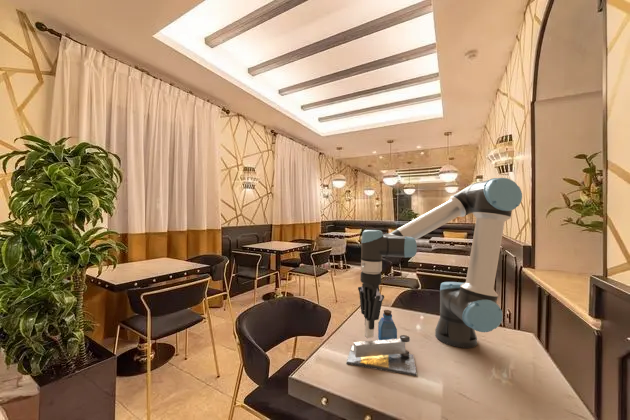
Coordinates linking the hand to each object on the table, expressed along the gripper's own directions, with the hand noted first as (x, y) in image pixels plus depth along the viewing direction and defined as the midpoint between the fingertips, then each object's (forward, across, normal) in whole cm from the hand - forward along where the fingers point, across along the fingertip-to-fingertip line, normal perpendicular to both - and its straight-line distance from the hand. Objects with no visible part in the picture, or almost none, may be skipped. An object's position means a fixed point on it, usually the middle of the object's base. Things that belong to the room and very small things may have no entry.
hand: (369, 336), depth 95 cm
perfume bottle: (+6, -4, +12) cm, 14 cm away
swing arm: (+3, +6, +1) cm, 7 cm away
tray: (+6, +6, +1) cm, 8 cm away
